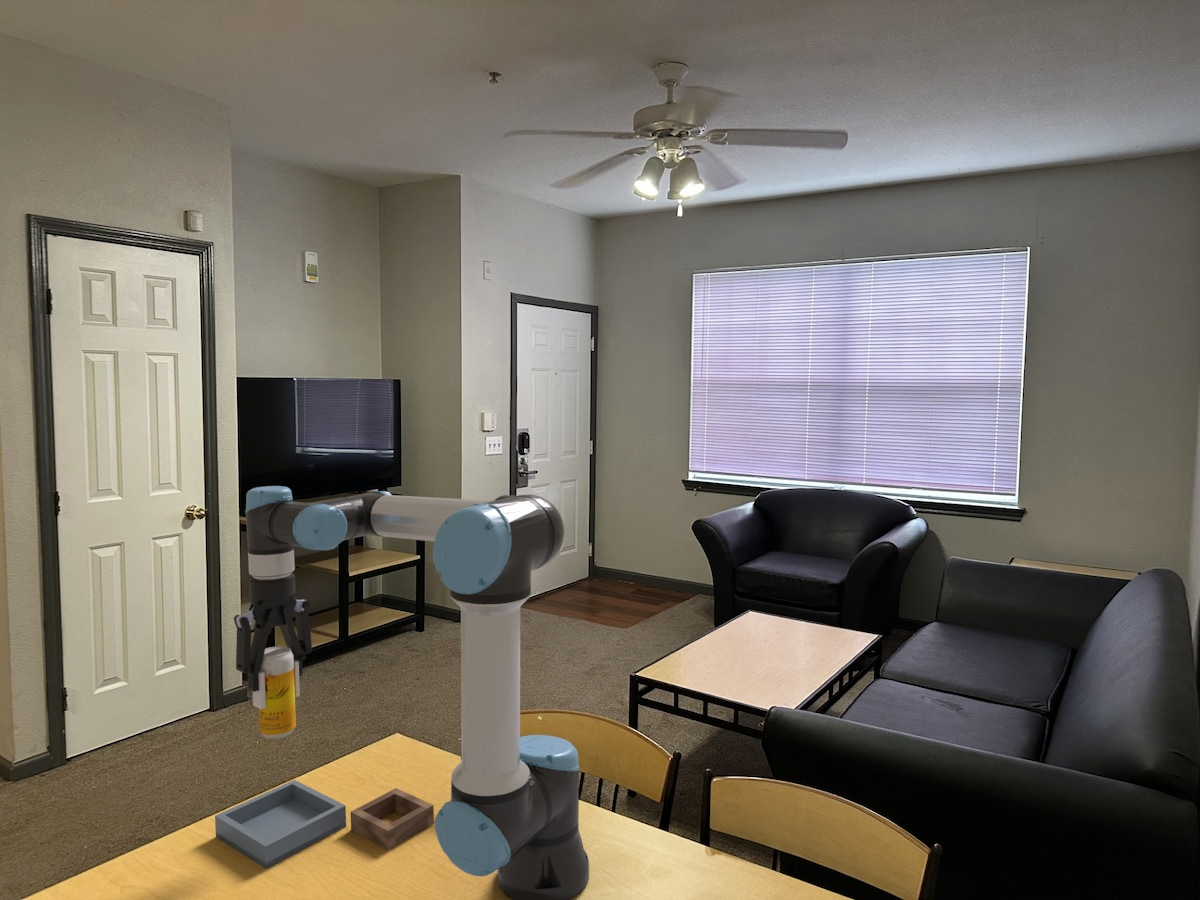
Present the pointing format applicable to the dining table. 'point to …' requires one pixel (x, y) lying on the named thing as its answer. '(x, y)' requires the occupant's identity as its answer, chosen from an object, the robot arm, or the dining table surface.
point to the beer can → (278, 693)
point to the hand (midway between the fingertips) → (276, 700)
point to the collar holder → (393, 834)
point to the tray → (280, 823)
